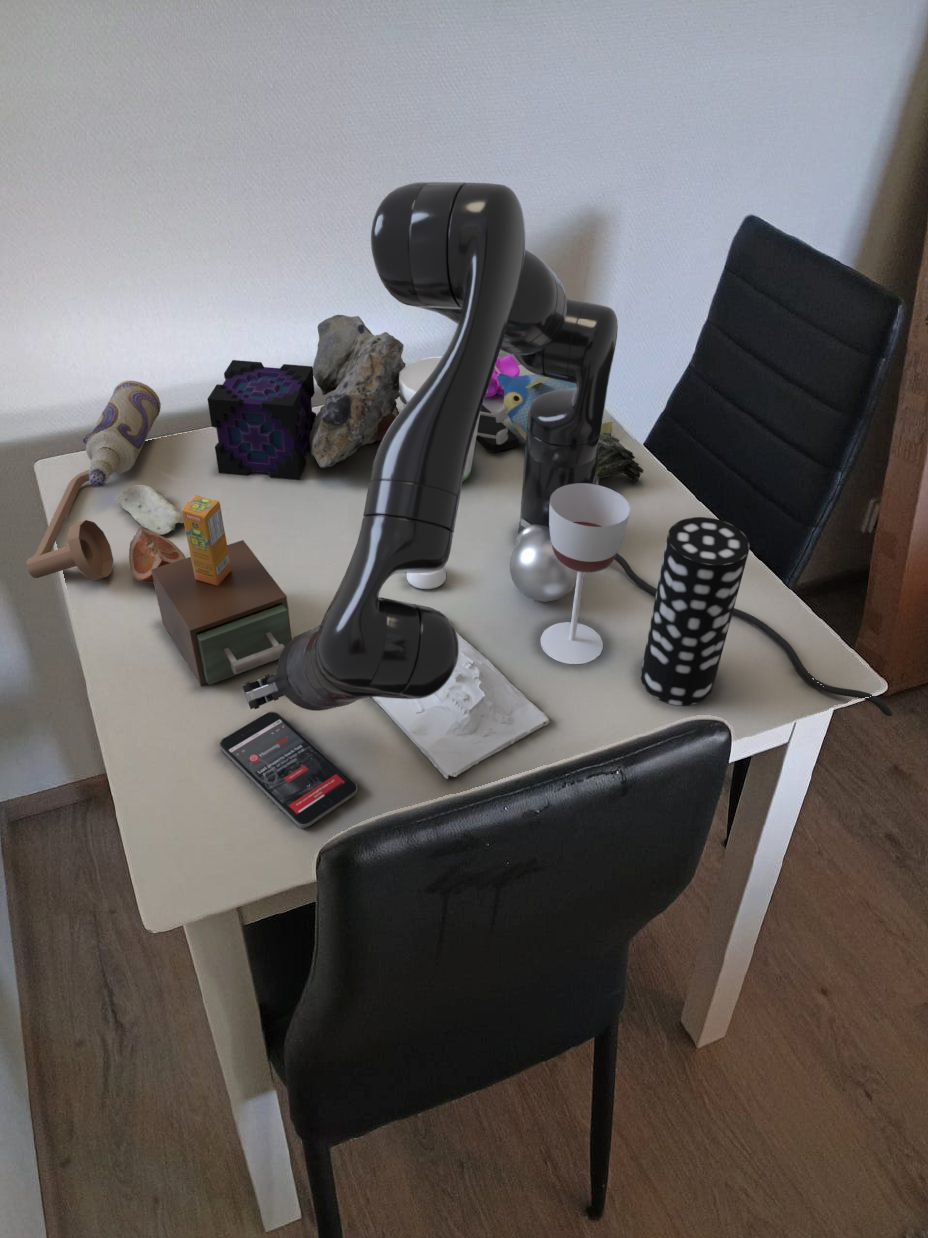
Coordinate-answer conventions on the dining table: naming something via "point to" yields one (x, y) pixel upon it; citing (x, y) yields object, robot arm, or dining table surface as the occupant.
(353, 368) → the rock
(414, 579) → the white jar
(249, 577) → the cabinet
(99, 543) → the long-stemmed smoking pipe
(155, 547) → the fruit slice
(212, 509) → the supplement box
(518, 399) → the decorative fish sculpture
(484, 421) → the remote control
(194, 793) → the dining table surface
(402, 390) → the cup
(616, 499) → the wineglass
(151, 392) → the decorative bottle
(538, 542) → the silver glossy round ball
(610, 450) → the mineral specimen
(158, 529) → the white oblong lump
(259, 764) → the smartphone
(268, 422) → the energy cube
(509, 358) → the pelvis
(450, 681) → the terrain model
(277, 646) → the drawer
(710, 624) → the white-spotted black cylinder
